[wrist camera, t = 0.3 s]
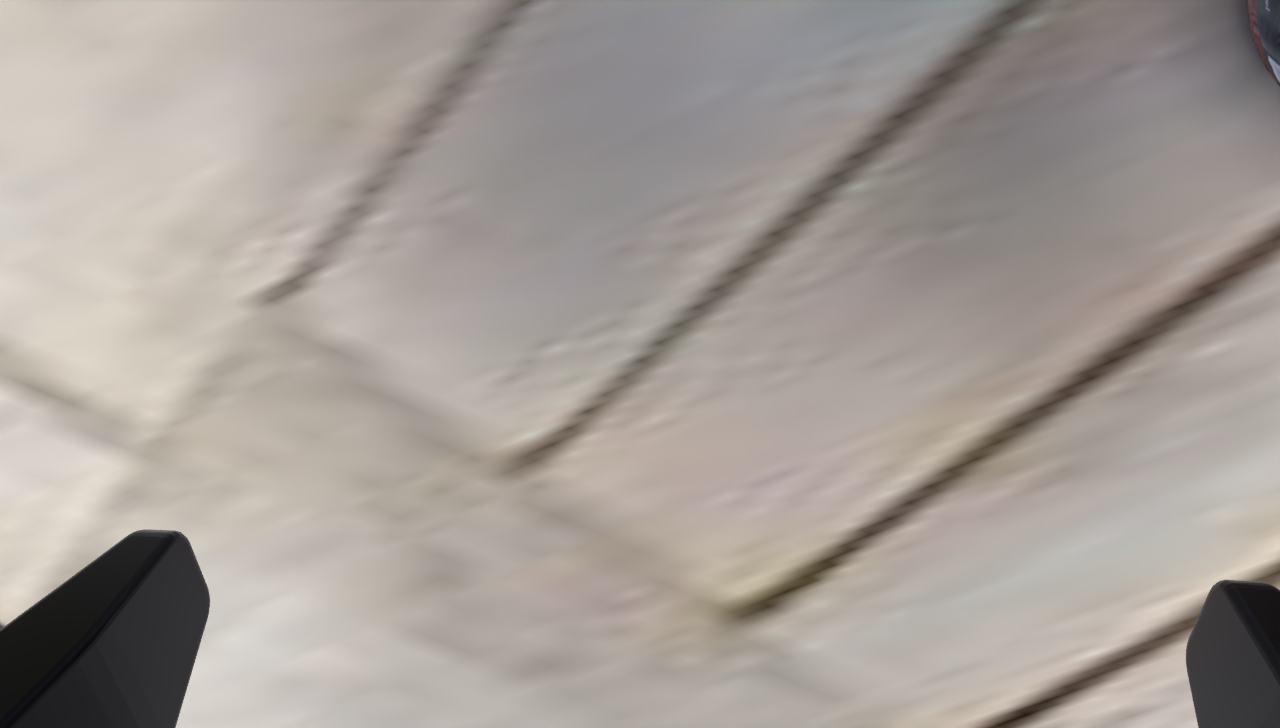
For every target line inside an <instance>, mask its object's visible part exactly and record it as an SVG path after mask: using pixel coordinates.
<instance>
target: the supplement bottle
mask: <svg viewBox="0 0 1280 728" xmlns="http://www.w3.org/2000/svg"><path fill="white" fill-rule="evenodd" d="M1247 8H1248V16H1249V24H1250V29H1251V32H1252V35H1253V38H1254V42H1255V44H1256V46H1257V49H1258V51H1259V54H1260V56H1261V58H1262V60H1263V62H1264V64H1265V66H1266V68H1267V70H1268V71H1269V72H1270V73H1271V74H1272V76H1273V77H1274V79H1275V80H1276V82H1277V83H1278V85H1279V86H1280V0H1247Z"/></svg>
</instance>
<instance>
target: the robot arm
mask: <svg viewBox="0 0 1280 728" xmlns="http://www.w3.org/2000/svg"><path fill="white" fill-rule="evenodd" d="M209 607H210V597H209V591H208V587H207V585H206V582H205V580H204V577H203V575H202V572H201V570H200V567H199V565H198V562H197V560H196V557H195V555H194V552H193V550H192V547H191V545H190V542H189V540H188V539H187V537H186V536H184V535H183V534H182V533H181V532H178V531H167V530H139V531H136V532H133V533H131V534H130V535H128V536H127V537H125V538H124V539H123V540H121V541H120V542H118V543H117V544H116V545H114V546H113V547H112V548H110V549H109V550H108V551H106V552H105V553H104V554H102V555H101V556H100V557H98V558H97V559H95V560H94V561H93V562H91V563H90V564H89V565H87V566H86V567H85V568H83V569H82V570H81V571H79V572H78V573H77V574H75V575H74V576H72V577H71V578H70V579H68V580H67V581H66V582H64V583H63V584H62V585H60V586H59V587H58V588H56V589H55V590H53V591H52V592H51V593H49V594H48V595H47V596H45V597H44V598H43V599H41V600H40V601H39V602H37V603H36V604H35V605H33V606H32V607H30V608H29V609H28V610H26V611H25V612H24V613H22V614H21V615H20V616H18V617H17V618H16V619H14V620H13V621H12V622H10V623H9V624H7V625H6V626H5V627H3V628H2V629H1V630H0V728H175V727H176V724H177V720H178V717H179V713H180V710H181V707H182V703H183V700H184V696H185V693H186V690H187V686H188V683H189V680H190V676H191V673H192V669H193V666H194V663H195V659H196V656H197V652H198V649H199V646H200V642H201V639H202V635H203V632H204V629H205V625H206V622H207V618H208V614H209ZM1186 666H1187V672H1188V677H1189V682H1190V687H1191V692H1192V697H1193V702H1194V707H1195V712H1196V717H1197V722H1198V727H1199V728H1280V590H1279V589H1277V588H1276V587H1274V586H1273V585H1271V584H1268V583H1265V582H1257V581H1235V580H1223V581H1219V582H1218V583H1216V584H1215V585H1214V586H1213V587H1212V588H1211V590H1210V592H1209V594H1208V596H1207V599H1206V601H1205V603H1204V605H1203V608H1202V610H1201V612H1200V614H1199V617H1198V619H1197V621H1196V624H1195V626H1194V628H1193V630H1192V633H1191V635H1190V637H1189V640H1188V643H1187V649H1186Z"/></svg>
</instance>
